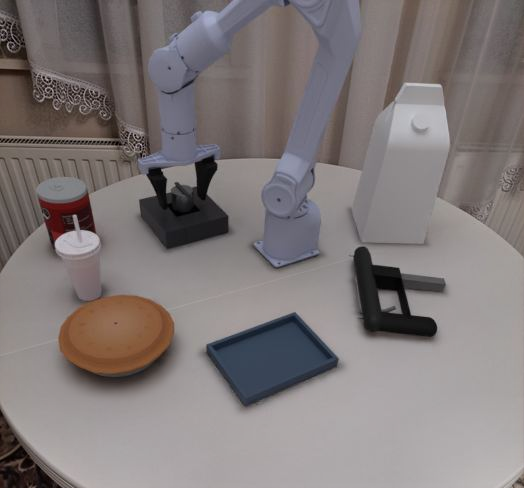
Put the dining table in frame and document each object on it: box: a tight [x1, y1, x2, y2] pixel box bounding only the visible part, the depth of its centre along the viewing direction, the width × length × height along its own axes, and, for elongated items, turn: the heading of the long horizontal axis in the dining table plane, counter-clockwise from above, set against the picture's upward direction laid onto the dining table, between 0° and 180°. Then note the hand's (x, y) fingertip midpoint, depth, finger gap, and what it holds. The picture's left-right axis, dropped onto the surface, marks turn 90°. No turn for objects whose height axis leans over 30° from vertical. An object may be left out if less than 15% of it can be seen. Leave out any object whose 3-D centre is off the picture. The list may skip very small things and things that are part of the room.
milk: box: [351, 82, 451, 245], centre depth 91 cm, size 12×12×26 cm
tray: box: [205, 311, 340, 407], centre depth 72 cm, size 15×11×2 cm
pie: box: [57, 294, 175, 378], centre depth 71 cm, size 16×16×5 cm
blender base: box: [138, 185, 229, 250], centre depth 95 cm, size 12×12×4 cm
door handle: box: [348, 245, 447, 338], centre depth 83 cm, size 3×20×16 cm
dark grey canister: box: [170, 181, 194, 217], centre depth 94 cm, size 4×5×7 cm
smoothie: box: [54, 215, 103, 302], centre depth 76 cm, size 6×6×14 cm
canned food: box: [35, 176, 98, 252], centre depth 86 cm, size 8×8×11 cm
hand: (182, 202), depth 93 cm, fingers open, 7 cm apart
